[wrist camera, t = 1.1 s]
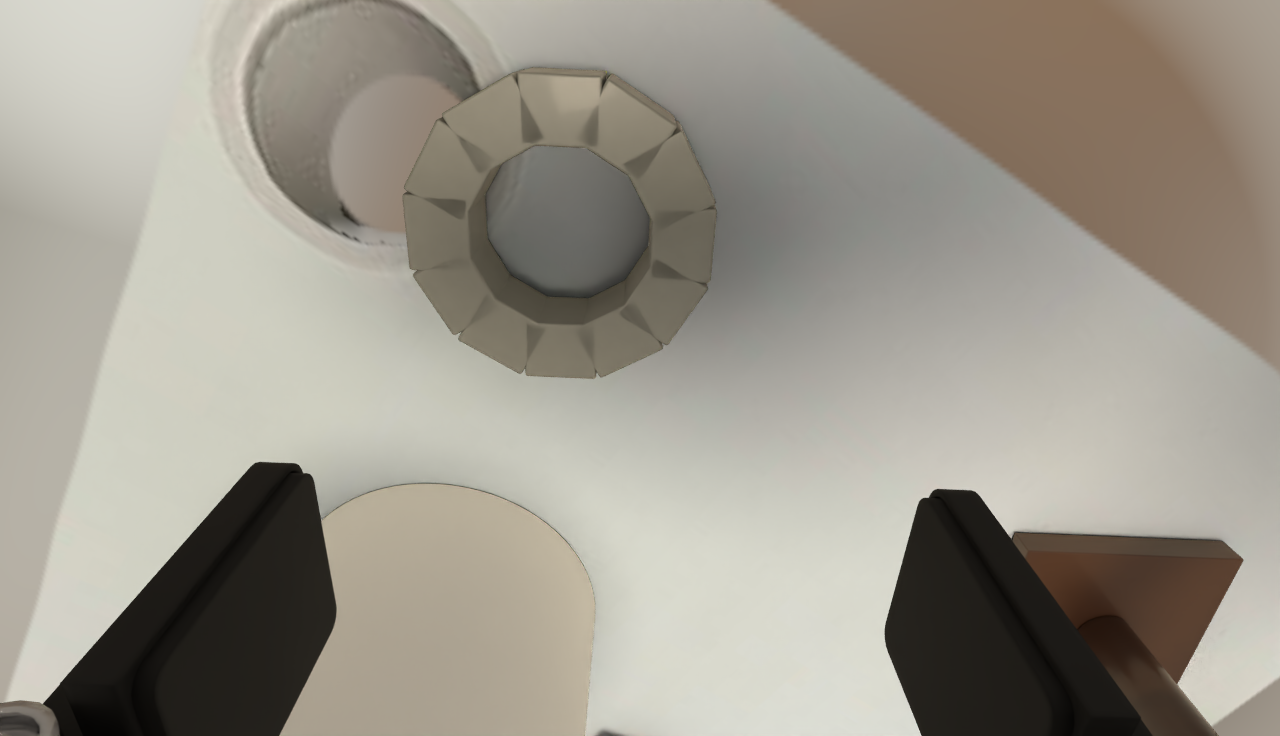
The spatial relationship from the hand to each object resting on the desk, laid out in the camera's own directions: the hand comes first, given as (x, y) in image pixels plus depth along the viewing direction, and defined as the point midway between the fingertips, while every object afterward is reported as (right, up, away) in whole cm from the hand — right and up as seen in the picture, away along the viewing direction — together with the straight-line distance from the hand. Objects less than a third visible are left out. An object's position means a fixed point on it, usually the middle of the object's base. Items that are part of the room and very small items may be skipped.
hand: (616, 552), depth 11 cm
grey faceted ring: (-2, +8, +13) cm, 16 cm away
